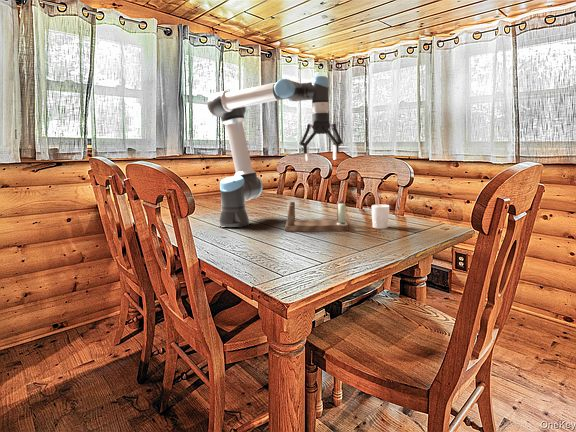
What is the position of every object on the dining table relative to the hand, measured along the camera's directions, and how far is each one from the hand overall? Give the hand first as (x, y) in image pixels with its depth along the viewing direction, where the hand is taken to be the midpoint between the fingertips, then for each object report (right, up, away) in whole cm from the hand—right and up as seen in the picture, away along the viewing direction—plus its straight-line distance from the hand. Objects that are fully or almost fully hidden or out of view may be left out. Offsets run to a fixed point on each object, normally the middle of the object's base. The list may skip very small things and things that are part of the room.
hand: (321, 160), depth 175 cm
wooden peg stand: (-2, -31, +1) cm, 31 cm away
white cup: (+27, -31, -1) cm, 41 cm away
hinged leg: (+9, -28, -2) cm, 30 cm away
